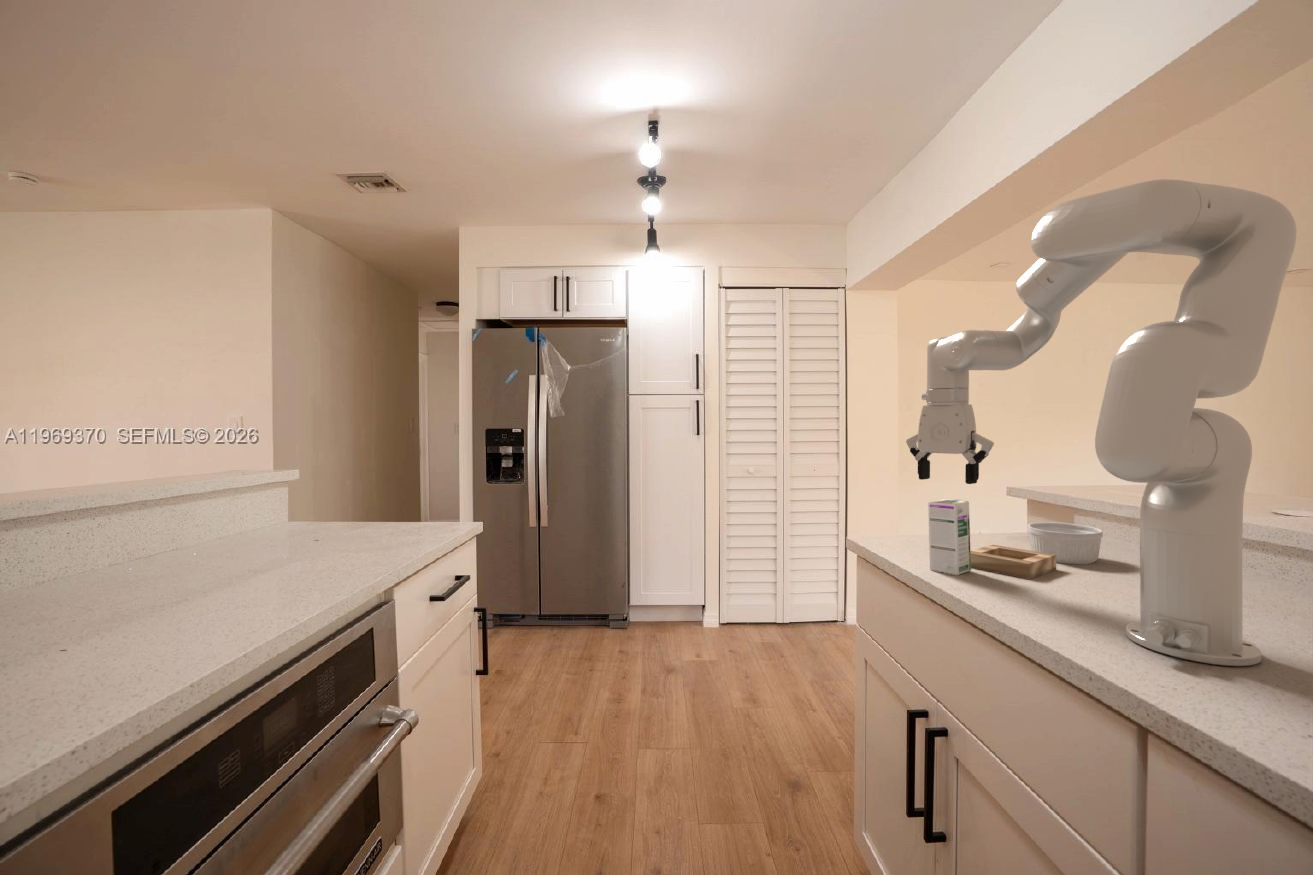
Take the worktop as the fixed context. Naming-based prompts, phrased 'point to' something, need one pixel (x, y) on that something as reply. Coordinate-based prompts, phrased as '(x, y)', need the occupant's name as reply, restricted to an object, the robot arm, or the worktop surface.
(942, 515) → the syrup box
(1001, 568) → the holder block
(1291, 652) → the worktop surface
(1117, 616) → the worktop surface
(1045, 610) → the worktop surface
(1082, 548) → the ramekin
